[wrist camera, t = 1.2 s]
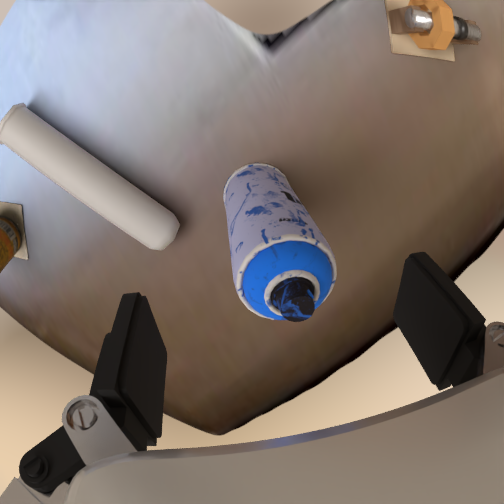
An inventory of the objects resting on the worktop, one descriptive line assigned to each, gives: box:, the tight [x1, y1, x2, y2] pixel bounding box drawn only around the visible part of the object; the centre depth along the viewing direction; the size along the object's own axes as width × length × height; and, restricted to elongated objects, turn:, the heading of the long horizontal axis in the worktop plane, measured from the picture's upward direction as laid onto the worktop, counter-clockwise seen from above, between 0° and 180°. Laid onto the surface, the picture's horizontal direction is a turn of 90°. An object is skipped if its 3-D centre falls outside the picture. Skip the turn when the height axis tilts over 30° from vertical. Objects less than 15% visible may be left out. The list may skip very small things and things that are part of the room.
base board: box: [384, 0, 478, 61], centre depth 24 cm, size 8×10×6 cm
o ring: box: [408, 0, 455, 50], centre depth 22 cm, size 7×2×7 cm, turn 8°
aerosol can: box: [223, 163, 337, 322], centre depth 28 cm, size 8×8×20 cm
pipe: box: [405, 8, 481, 41], centre depth 22 cm, size 3×10×3 cm, turn 97°
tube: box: [0, 103, 180, 250], centre depth 31 cm, size 5×5×25 cm
